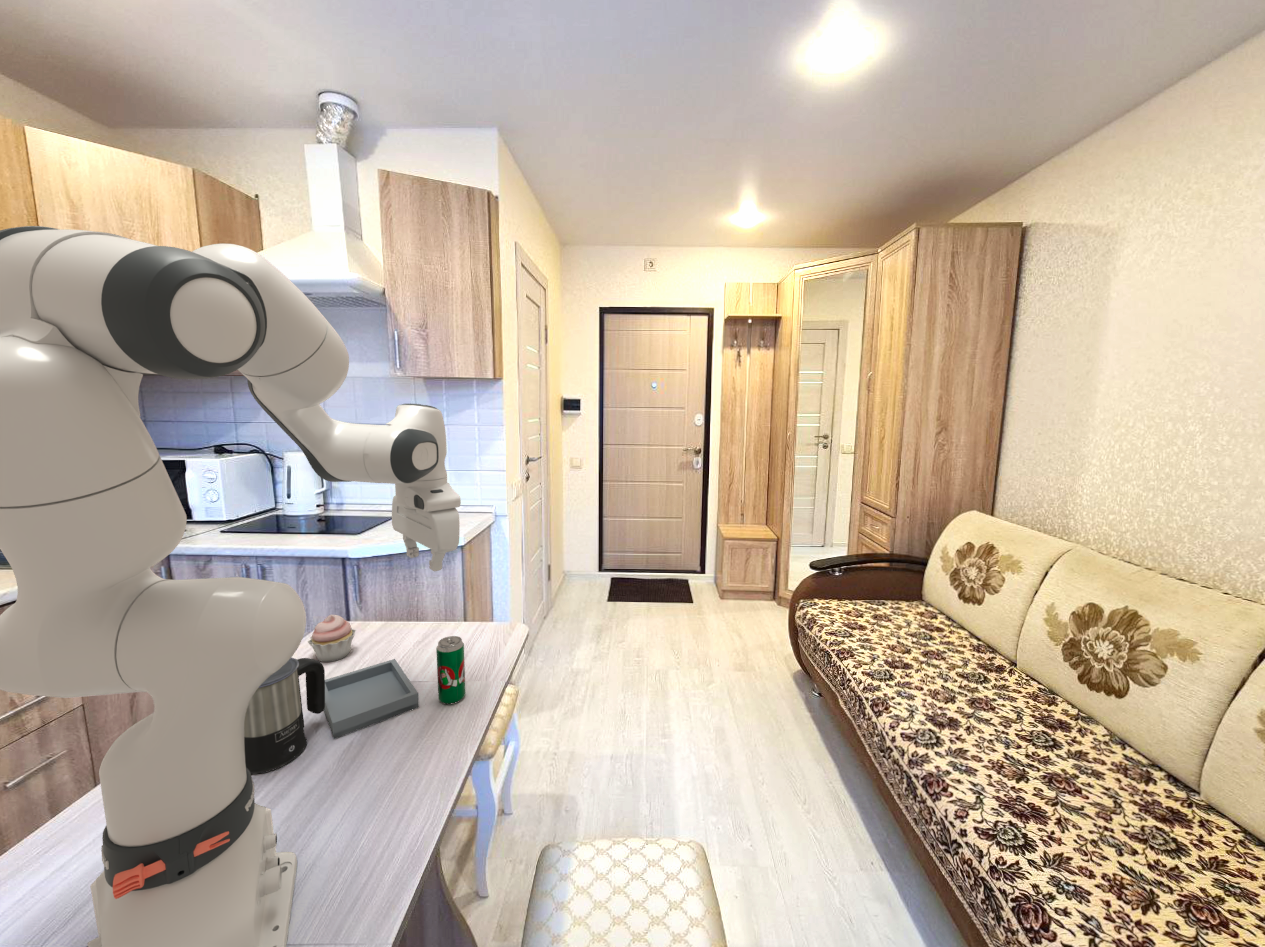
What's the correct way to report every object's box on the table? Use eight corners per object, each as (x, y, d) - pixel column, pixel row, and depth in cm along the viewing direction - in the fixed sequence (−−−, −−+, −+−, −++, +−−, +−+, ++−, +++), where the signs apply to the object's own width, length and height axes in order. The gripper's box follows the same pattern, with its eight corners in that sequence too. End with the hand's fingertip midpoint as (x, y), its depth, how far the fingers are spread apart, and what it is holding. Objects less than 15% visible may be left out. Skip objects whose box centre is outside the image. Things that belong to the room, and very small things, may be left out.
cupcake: (300, 667, 104) (297, 624, 103) (321, 646, 113) (318, 606, 112) (347, 665, 106) (344, 622, 104) (363, 644, 115) (361, 604, 113)
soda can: (458, 687, 98) (456, 632, 96) (470, 698, 94) (468, 641, 93) (434, 697, 94) (431, 640, 93) (444, 709, 91) (442, 650, 89)
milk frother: (279, 777, 74) (271, 688, 72) (178, 774, 74) (167, 686, 72) (336, 718, 88) (331, 642, 86) (252, 715, 88) (244, 640, 86)
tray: (418, 707, 91) (418, 692, 91) (333, 739, 82) (332, 723, 82) (395, 671, 103) (394, 658, 103) (319, 696, 94) (318, 682, 94)
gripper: (381, 484, 93) (384, 552, 95) (430, 504, 80) (432, 582, 82) (413, 481, 98) (415, 546, 100) (465, 499, 84) (466, 573, 87)
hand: (424, 563), depth 91 cm, fingers open, 8 cm apart
